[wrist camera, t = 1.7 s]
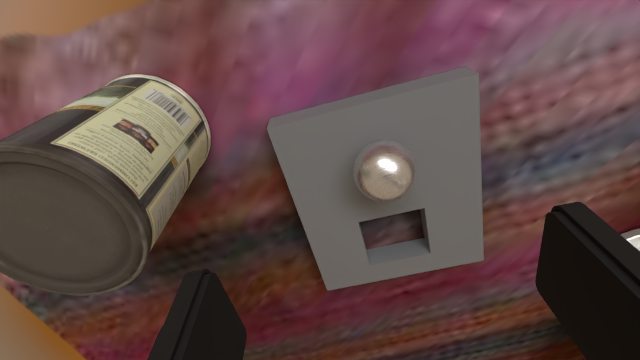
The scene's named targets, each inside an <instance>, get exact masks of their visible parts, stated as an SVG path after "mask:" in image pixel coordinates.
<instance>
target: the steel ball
mask: <svg viewBox="0 0 640 360" xmlns="http://www.w3.org/2000/svg"><path fill="white" fill-rule="evenodd" d="M353 176H354V180H355V183H356V185H357V187H358V189H359V190H360V191H361V192H362V193H363V194H364V195H365V196H366V197H368V198H370V199H372V200H374V201H377V202H392V201H396V200H398V199H400V198H402V197H403V196H405V195H406V194H407V193H408V192H409V191H410V190H411V188H412V187H413V185H414V183H415V180H416V176H417V166H416V162H415V159H414V157H413V155H412V153H411V152H410V151H409V150H408V149H407V148H406V147H405V146H404V145H402V144H401V143H398V142H396V141H393V140H378V141H375V142H372V143H370V144H368V145H367V146H365V147H364V148H363V149H362V150H361V151H360V152H359V154H358V155H357V157H356V159H355V162H354V167H353Z"/></svg>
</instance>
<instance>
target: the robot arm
mask: <svg viewBox="0 0 640 360" xmlns="http://www.w3.org/2000/svg"><path fill="white" fill-rule="evenodd" d="M536 286H537V289H538V292H539V293H540V295H541V296H542V298H543V299H544V300H545V302H546V303H547V305H548V306H549V307H550V309H551V310H552V312H553V313H554V314H555V316H556V317H557V319H558V320H559V321H560V323H561V324H562V326H563V327H564V328H565V330H566V331H567V333H568V334H569V335H570V337H571V338H572V339H573V341H574V342H575V344H576V345H577V346H578V348H579V349H580V351H581V352H582V353H583V355H584V356H585V358H586V359H587V360H640V229H635V230H632V231H628V232H625V233H622V234H619V233H618V232H617V231H615V230H614V229H613V228H612V227H611V226H609V225H608V224H607V223H606V222H605V221H603V220H602V219H601V218H600V217H599V216H597V215H596V214H595V213H594V212H593V211H591V210H590V209H589V208H588V207H587V206H586V205H584V204H583V203H581V202H574V203H569V204H563V205H558V206H554V207H553V208H552V210H551V212H550V213H547V215H546V218H545V224H544V231H543V237H542V243H541V249H540V256H539V262H538V268H537V274H536ZM245 344H246V329H245V327H244V325H243V323H242V321H241V319H240V317H239V316H238V314H237V312H236V310H235V308H234V306H233V304H232V303H231V301H230V299H229V297H228V295H227V293H226V292H225V290H224V288H223V286H222V284H221V282H220V280H219V279H218V277H217V275H216V274H215V273H211V272H210V271H209V270H208V269H204V270H198V271H193V272H188V273H186V274H185V276H184V278H183V281H182V283H181V285H180V288H179V290H178V292H177V295H176V297H175V299H174V302H173V304H172V306H171V309H170V311H169V314H168V316H167V318H166V321H165V323H164V325H163V327H162V328H161V330H160V332H159V334H158V336H157V339H156V341H155V343H154V346H153V348H152V350H151V353H150V355H149V357H148V360H243V355H244V350H245Z"/></svg>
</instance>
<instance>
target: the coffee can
mask: <svg viewBox="0 0 640 360" xmlns="http://www.w3.org/2000/svg"><path fill="white" fill-rule="evenodd" d="M210 147H211V135H210V129H209V125H208V122H207V120H206V117H205V115H204V114H203V112H202V110H201V109H200V107H199V106H198V105H197V103H196V102H195V101H194V100H193V99H192V98H191V97H190V96H189V95H188V94H187V93H186V92H184V91H183V90H182V89H180V88H179V87H177V86H176V85H174V84H172V83H170V82H168V81H166V80H163V79H161V78H158V77H155V76H149V75H142V74H140V75H138V74H134V75H127V76H122V77H119V78H117V79H115V80H112V81H111V82H109V83H108V84H106V85H105V86H104V87H102V88H100V89H98V90H96V91H94V92H92V93H91V94H89V95H87V96H85V97H83V98H81V99H79V100H77V101H75V102H73V103H71V104H69V105H67V106H66V107H64V108H62V109H60V110H58V111H56V112H54V113H52V114H50V115H48V116H46V117H44V118H42V119H41V120H39V121H37V122H35V123H33V124H31V125H29V126H27V127H25V128H23V129H22V130H20V131H18V132H16V133H14V134H12V135H10V136H8V137H6V138H4V139H2V140H0V272H1V273H3V274H5V275H7V276H8V277H10V278H12V279H14V280H17V281H19V282H21V283H24V284H26V285H29V286H32V287H35V288H38V289H42V290H45V291H49V292H54V293H60V294H66V295H97V294H103V293H108V292H111V291H114V290H117V289H119V288H122V287H124V286H125V285H127V284H128V283H130V282H131V281H132V280H134V279H135V278H136V277H137V276H138V275H139V273H140V272H141V270H142V269H143V267H144V265H145V263H146V261H147V259H148V257H149V254H150V251H151V249H152V247H153V246H154V244H155V242H156V240H157V239H158V237H159V235H160V234H161V232H162V230H163V229H164V227H165V225H166V224H167V222H168V220H169V219H170V217H171V215H172V214H173V212H174V210H175V208H176V207H177V205H178V203H179V202H180V200H181V199H182V197H183V195H184V194H185V192H186V190H187V188H188V187H189V185H190V183H191V182H192V180H193V178H194V177H195V175H196V173H197V172H198V170H199V168H200V167H201V166H202V165H203V164H204V162H205V160H206V158H207V156H208V154H209V150H210Z"/></svg>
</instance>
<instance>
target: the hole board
mask: <svg viewBox="0 0 640 360" xmlns="http://www.w3.org/2000/svg"><path fill="white" fill-rule="evenodd" d="M267 131H268V134H269V136H270V139H271V142H272V144H273V147H274V150H275V152H276V155H277V158H278V160H279V163H280V166H281V168H282V171H283V174H284V176H285V179H286V182H287V184H288V187H289V190H290V192H291V195H292V198H293V200H294V203H295V206H296V208H297V211H298V214H299V216H300V219H301V222H302V224H303V227H304V230H305V232H306V235H307V238H308V240H309V243H310V246H311V248H312V251H313V254H314V256H315V259H316V262H317V264H318V267H319V270H320V272H321V275H322V278H323V280H324V283H325V286H326V288H327V291H329V290H334V289H339V288H344V287H349V286H355V285H360V284H365V283H370V282H375V281H380V280H386V279H391V278H396V277H401V276H406V275H411V274H416V273H422V272H427V271H432V270H437V269H442V268H447V267H453V266H458V265H463V264H468V263H473V262H478V261H483V260H484V254H483V216H482V178H481V141H480V103H479V73H477V72H475V71H474V70H472V69H470V68H468V67H467V66H465V67H461V68H457V69H454V70H450V71H446V72H442V73H439V74H435V75H431V76H427V77H423V78H420V79H416V80H412V81H408V82H405V83H401V84H397V85H393V86H390V87H386V88H382V89H378V90H375V91H371V92H367V93H363V94H359V95H356V96H352V97H348V98H344V99H341V100H337V101H333V102H329V103H326V104H322V105H318V106H314V107H310V108H307V109H303V110H299V111H295V112H292V113H288V114H284V115H280V116H277V117H273V118H270V120H269V124H268V127H267ZM378 140H393V141H396V142H398V143H401V144H402V145H404V146H405V147H406V148H407V149H408V150H409V151H410V152H411V153H412V155H413V157H414V159H415V162H416V166H417V176H416V180H415V183H414V185H413V187H412V188H411V190H410V191H409V192H408V193H407V194H406V195H405V196H403V197H402V198H400V199H398V200H396V201H392V202H377V201H374V200H372V199H370V198H368V197H366V196H365V195H364V194H363V193H362V192H361V191H360V190H359V189H358V187H357V185H356V183H355V180H354V176H353V167H354V162H355V159H356V157H357V155H358V154H359V152H360V151H361V150H362V149H363V148H364V147H365V146H367V145H368V144H370V143H372V142H375V141H378ZM418 209H420V213H421V220H422V227H423V234H424V238H420V239H415V240H410V241H405V242H401V243H396V244H391V245H386V246H381V247H376V248H371V249H367V248H366V244H365V240H364V237H363V233H362V229H361V225H360V222H363V221H367V220H372V219H376V218H381V217H386V216H390V215H395V214H399V213H404V212H409V211H413V210H418Z"/></svg>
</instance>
